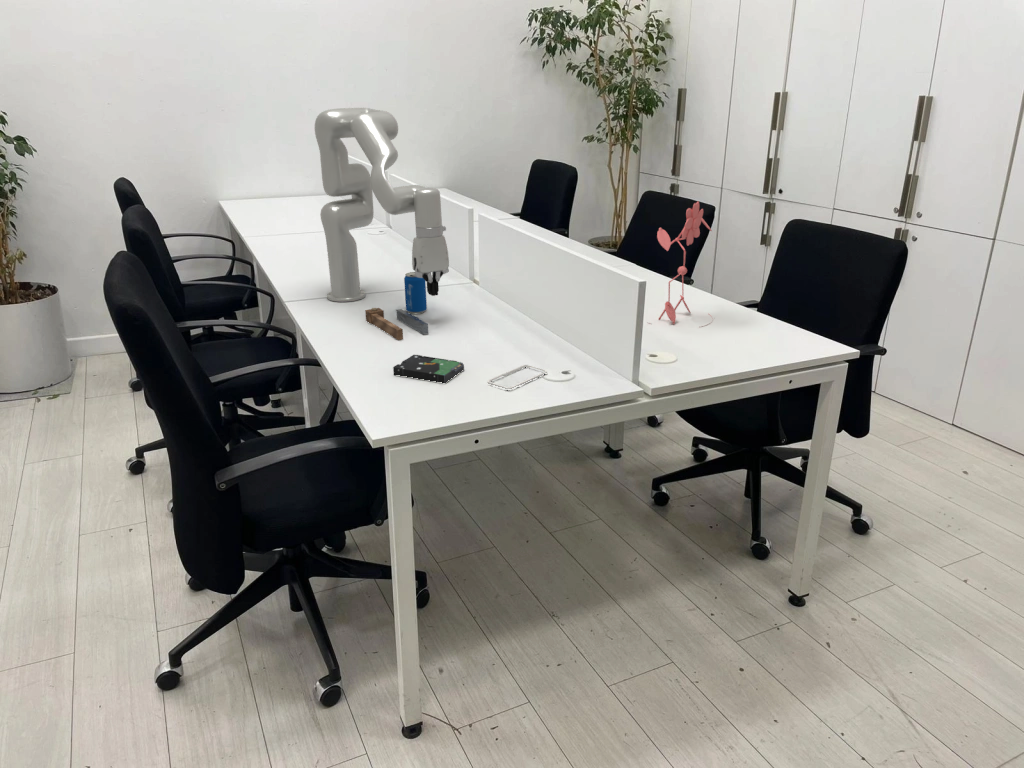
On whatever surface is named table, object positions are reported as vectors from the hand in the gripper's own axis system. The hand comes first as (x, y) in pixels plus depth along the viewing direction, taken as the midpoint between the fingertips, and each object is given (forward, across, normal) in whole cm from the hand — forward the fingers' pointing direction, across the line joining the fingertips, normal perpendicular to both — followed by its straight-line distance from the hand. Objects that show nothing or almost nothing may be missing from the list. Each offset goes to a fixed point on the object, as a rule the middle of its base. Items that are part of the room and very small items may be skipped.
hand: (433, 294), depth 228 cm
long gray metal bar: (+9, +7, -1) cm, 11 cm away
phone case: (+11, +4, +51) cm, 52 cm away
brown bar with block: (+9, +14, -2) cm, 17 cm away
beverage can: (+9, -1, -14) cm, 16 cm away
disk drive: (+10, +20, +35) cm, 42 cm away
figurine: (+10, -64, +40) cm, 76 cm away
